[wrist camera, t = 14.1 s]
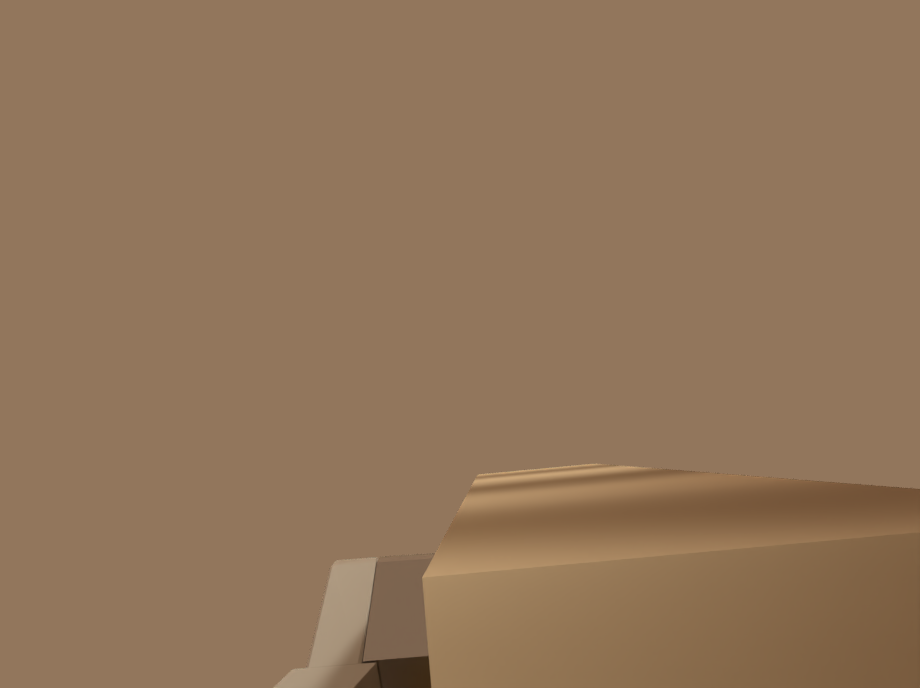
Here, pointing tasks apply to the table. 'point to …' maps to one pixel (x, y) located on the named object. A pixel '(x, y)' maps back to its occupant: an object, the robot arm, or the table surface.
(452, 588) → the beech bar
